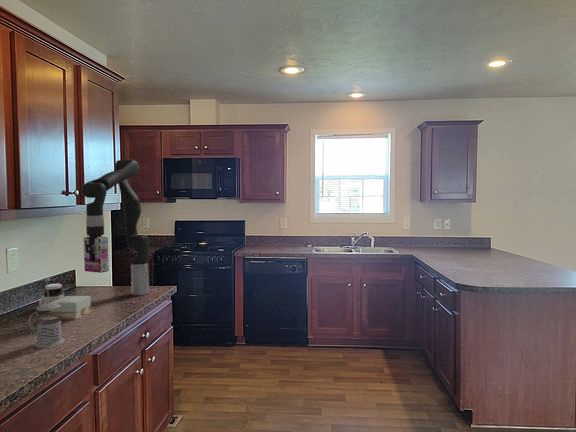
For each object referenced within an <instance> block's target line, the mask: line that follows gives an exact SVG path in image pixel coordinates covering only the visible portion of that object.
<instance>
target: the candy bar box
mask: <svg viewBox="0 0 576 432" xmlns="http://www.w3.org/2000/svg"><path fill="white" fill-rule="evenodd" d="M85 240H89V236H84V237H83V256H84V257H83V259H84V272H87V273H88V272H91V273H99V274H101V273H106V272H109V267H110V266H109V237H108V236H102V237H95V238H94V245H93V246H92V247H94V246H96V248H95V253H94V254H95V261H94V262H90V257H89V253H86V247H85ZM88 250H89V248H88ZM92 251H93V249H92Z"/></svg>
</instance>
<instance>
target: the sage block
mask: <svg viewBox="0 0 576 432" xmlns="http://www.w3.org/2000/svg"><path fill="white" fill-rule="evenodd" d="M51 303H57V304H59V305H61V306H60V308H58V309H55V310H50V311H51V312H77V311H79V310H81V309H83V308H85V307H87V306H89V305H91V306H92V299H91V296H90V295H86V296H85V295H66V296H65V295H64V297H63V298H60V299H58V300H56V301H53V302H51Z"/></svg>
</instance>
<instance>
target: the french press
mask: <svg viewBox="0 0 576 432" xmlns="http://www.w3.org/2000/svg"><path fill="white" fill-rule="evenodd" d="M50 281H51V278H49V277H45V278H44V282H46V285H47V290H48V285H49V282H50ZM60 306H61V305H59V304H57V303H49V298H48V303H45V304H42V305H39V306H37V307H36V308H35V310H36V311H34V312H33V313H32V314H30V315H29V318H28V321H27V323H28V327H29V330H31V331H33V332H35V333H36V338H37V339H36V343H35V344H34V346H35V347H36V348H43V349H44V348H51V347H56V346H59V345H61V344H64V342H65V341H66V339H64V338H63V337H62V319H58V318H59V317H60V316H59V315H50V311H51V310H55V309H58V308H60ZM47 311H48V314H47V315H43V316H41V317H39V318H37V321H38V322H37V324H36V326H37V327H36V328H35V327H33V326H32V322H31V321H32V320H31V319H32V316H33V315H34V314H35V315H36V317H37V316H38V315H39V312H47ZM48 322H49V323H48Z"/></svg>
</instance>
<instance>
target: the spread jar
mask: <svg viewBox="0 0 576 432" xmlns="http://www.w3.org/2000/svg"><path fill="white" fill-rule="evenodd" d="M62 287H63V285H62V284H61V283H50V284H48V290H47V284H46V285H45V290H44V291H43V295H42V296H41V297H40V299H39V301H38V304H39V306H40V305H42V304H45V303H48V298H49V303H51V302H53V301H56V300H58V299H60V298H63V297H65V291H64V289H63V288H62Z"/></svg>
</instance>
